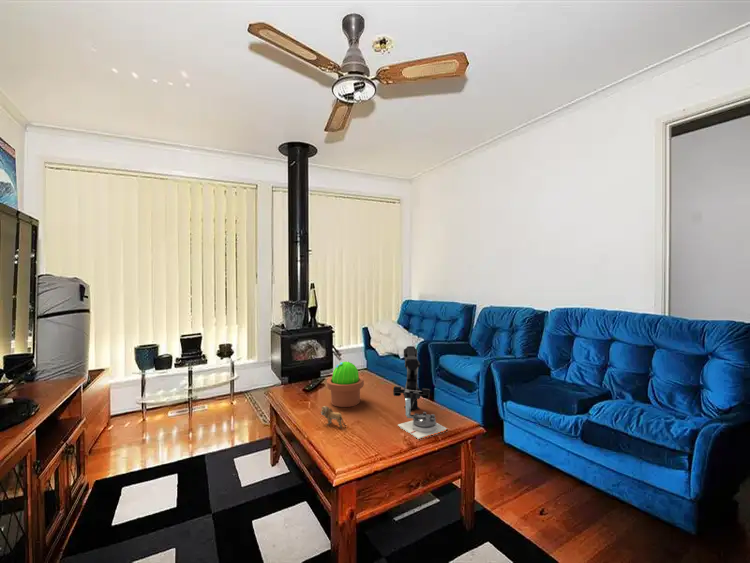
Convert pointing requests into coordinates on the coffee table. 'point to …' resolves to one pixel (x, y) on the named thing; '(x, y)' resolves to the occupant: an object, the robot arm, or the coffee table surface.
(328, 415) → the lion figurine
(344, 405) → the potted cactus
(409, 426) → the mounting plate
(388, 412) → the coffee table surface
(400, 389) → the robot arm
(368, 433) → the coffee table surface
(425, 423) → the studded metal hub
